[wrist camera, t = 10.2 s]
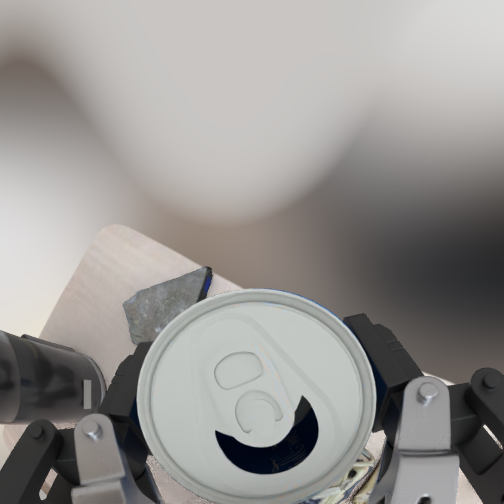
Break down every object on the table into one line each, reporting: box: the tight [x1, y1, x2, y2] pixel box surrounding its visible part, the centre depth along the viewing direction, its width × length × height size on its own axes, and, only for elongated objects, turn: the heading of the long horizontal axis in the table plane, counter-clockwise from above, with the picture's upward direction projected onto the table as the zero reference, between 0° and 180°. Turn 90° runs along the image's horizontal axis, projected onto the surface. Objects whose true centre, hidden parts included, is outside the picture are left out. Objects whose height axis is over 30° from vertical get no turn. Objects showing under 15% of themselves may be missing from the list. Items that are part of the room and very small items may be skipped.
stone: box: [123, 266, 213, 345], centre depth 30 cm, size 13×10×2 cm
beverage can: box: [137, 288, 376, 504], centre depth 11 cm, size 6×6×12 cm
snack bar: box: [351, 465, 379, 504], centre depth 20 cm, size 10×2×3 cm
